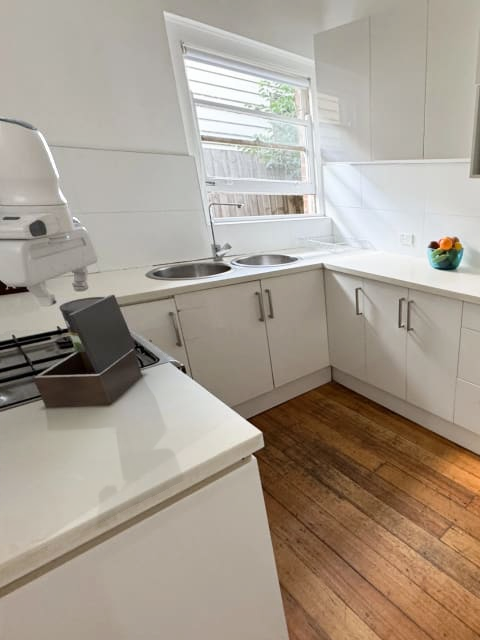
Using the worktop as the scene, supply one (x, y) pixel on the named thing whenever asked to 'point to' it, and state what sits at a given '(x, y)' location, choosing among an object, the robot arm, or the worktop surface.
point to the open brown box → (86, 381)
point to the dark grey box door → (103, 332)
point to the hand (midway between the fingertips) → (66, 297)
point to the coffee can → (71, 308)
